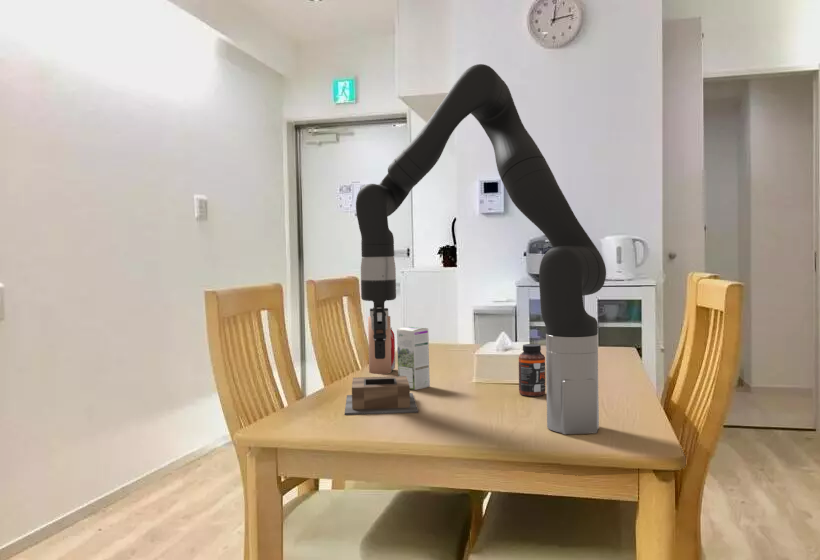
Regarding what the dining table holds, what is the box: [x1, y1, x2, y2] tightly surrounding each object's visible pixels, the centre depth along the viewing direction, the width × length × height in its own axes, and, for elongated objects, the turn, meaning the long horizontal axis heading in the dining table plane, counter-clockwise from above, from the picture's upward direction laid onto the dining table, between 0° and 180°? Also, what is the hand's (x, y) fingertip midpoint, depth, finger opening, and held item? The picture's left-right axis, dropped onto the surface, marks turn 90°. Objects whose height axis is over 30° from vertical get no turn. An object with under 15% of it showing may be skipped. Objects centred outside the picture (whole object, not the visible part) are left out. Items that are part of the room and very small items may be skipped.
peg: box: [367, 315, 392, 375], centre depth 151 cm, size 5×5×12 cm
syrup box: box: [396, 326, 431, 390], centre depth 169 cm, size 6×6×14 cm
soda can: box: [391, 327, 396, 372], centre depth 194 cm, size 7×7×12 cm
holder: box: [344, 375, 419, 416], centre depth 151 cm, size 18×15×5 cm
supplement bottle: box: [518, 343, 547, 397], centre depth 158 cm, size 6×6×11 cm
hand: (379, 356), depth 151 cm, fingers closed on peg, 4 cm apart
